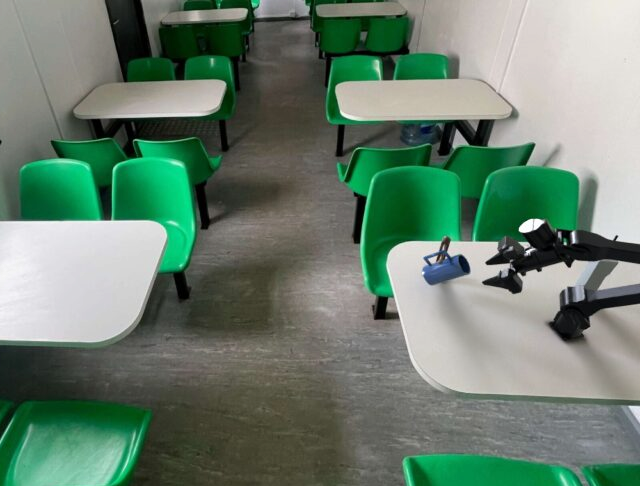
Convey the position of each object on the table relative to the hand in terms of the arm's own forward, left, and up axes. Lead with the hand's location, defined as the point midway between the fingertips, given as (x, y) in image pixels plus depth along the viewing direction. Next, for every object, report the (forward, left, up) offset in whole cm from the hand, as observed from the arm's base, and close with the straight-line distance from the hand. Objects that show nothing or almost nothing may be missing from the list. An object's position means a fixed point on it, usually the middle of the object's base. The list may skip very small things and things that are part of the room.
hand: (484, 273), depth 126 cm
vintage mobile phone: (-6, -34, -12) cm, 37 cm away
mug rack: (+10, +8, -12) cm, 18 cm away
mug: (+10, +12, -6) cm, 17 cm away
